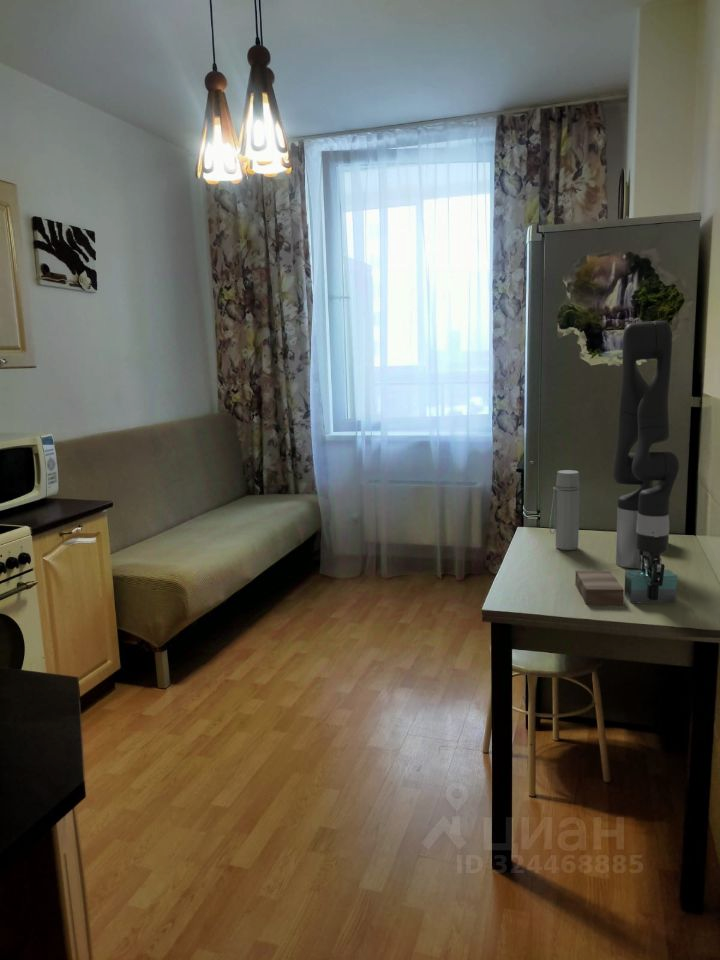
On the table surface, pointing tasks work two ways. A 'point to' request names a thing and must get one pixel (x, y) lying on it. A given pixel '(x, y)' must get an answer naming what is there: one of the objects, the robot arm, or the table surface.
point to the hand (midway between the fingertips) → (649, 595)
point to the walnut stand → (599, 588)
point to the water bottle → (566, 509)
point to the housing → (639, 587)
